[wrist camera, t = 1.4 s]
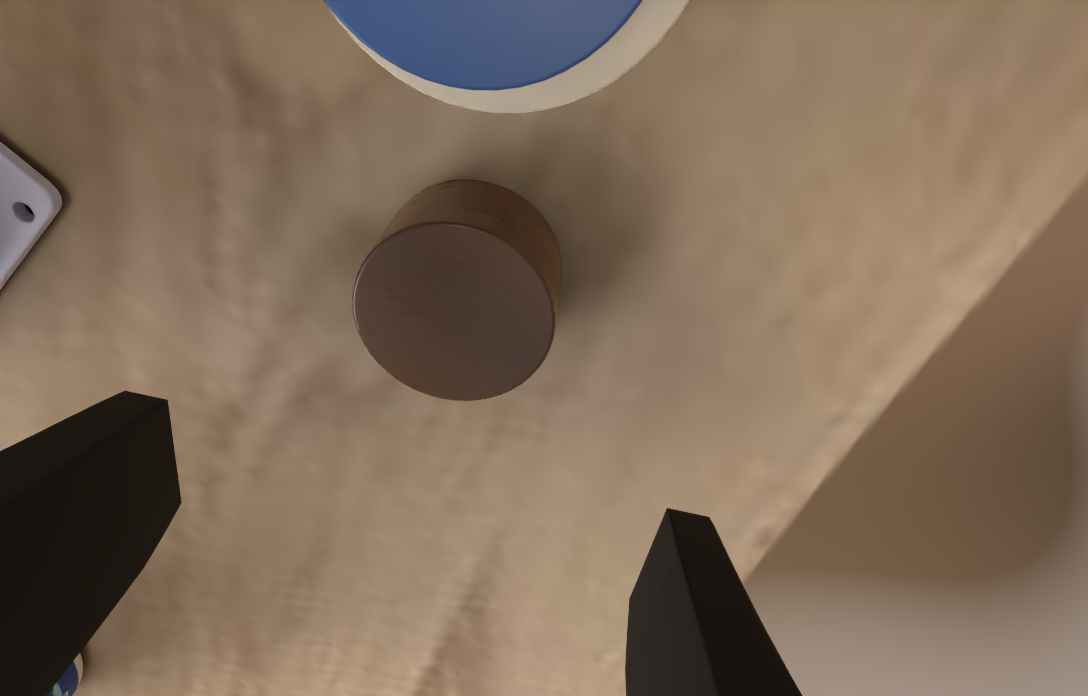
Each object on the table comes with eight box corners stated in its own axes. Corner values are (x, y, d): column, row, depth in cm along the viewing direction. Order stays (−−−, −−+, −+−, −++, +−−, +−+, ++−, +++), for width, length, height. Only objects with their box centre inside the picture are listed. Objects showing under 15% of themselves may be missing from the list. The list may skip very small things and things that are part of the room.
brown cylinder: (473, 370, 19) (454, 432, 17) (349, 255, 18) (309, 306, 15) (598, 277, 17) (597, 332, 15) (473, 139, 16) (450, 177, 13)
